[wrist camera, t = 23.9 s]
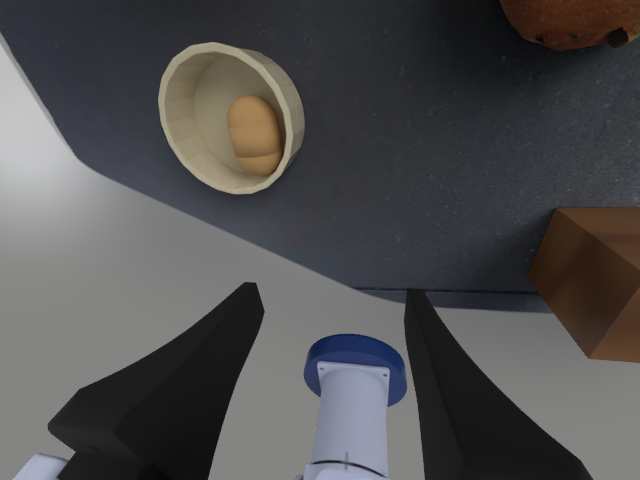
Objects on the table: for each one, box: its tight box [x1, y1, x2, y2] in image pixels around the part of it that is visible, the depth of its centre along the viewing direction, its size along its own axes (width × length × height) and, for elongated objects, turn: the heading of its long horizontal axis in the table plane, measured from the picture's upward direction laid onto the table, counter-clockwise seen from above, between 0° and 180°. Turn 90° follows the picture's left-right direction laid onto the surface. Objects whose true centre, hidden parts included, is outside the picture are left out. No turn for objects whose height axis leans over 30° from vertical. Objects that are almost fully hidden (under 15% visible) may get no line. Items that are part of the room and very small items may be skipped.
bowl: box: [158, 42, 305, 194], centre depth 17 cm, size 8×8×4 cm
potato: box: [227, 95, 283, 176], centre depth 17 cm, size 5×3×3 cm
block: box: [527, 207, 640, 363], centre depth 17 cm, size 6×5×8 cm
